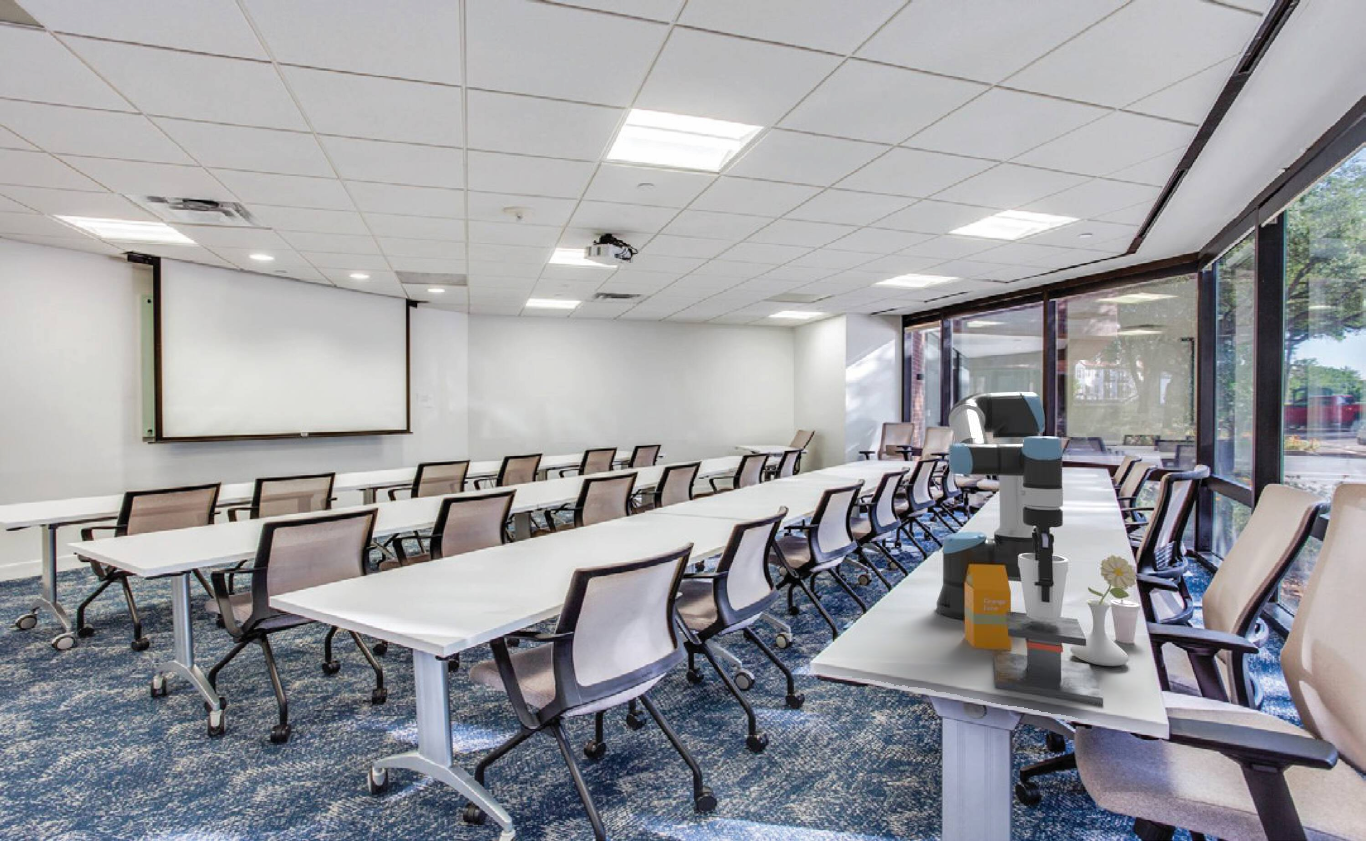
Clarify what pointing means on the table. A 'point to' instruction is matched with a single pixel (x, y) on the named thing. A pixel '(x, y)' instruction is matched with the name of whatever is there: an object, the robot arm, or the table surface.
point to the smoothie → (1124, 619)
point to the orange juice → (987, 606)
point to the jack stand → (1046, 661)
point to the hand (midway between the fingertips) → (1043, 609)
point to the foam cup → (1030, 576)
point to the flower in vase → (1097, 642)
